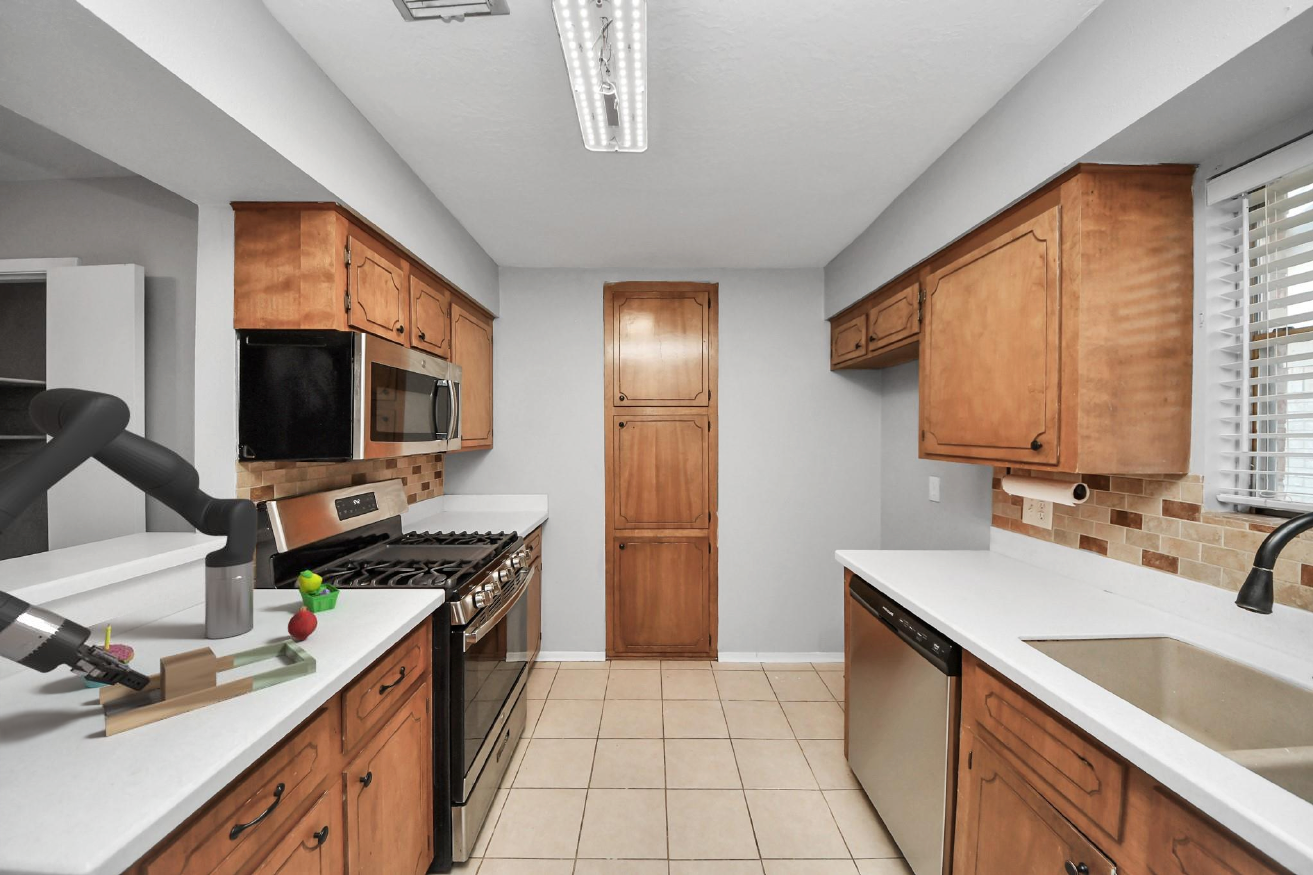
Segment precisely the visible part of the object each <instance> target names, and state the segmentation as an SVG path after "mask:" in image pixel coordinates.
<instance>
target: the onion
mask: <svg viewBox="0 0 1313 875" xmlns="http://www.w3.org/2000/svg"><path fill="white" fill-rule="evenodd" d="M317 627H318V618H317V617H316V615H315V613H313V612H312V611H310V610H309V609H308V608H307V607H305V606H304V605H303V606H302V607H300V609H299V610H298V611H297V612H295V613H294V615H293V616H291V618H290V620H289V621H288V623H287V632H288V634H289V635H290V636H291V637H293V638H294V639H297V640H299V641H305V640H306V639H308V638H309V636H310V635H312V634H313V633H314V632H315V631H316V629H317Z"/></svg>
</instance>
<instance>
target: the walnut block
mask: <svg viewBox="0 0 1313 875" xmlns="http://www.w3.org/2000/svg"><path fill="white" fill-rule="evenodd" d="M216 658H217V655H216V654H215V652H214V650H212V648H211V647H210V646H205V647H201V648H197V649H193V650H189V651H185V652H181V653H177V654H173V655H168V656H165V657H164V656H163V657H161V658H159V673H160V688H159V696H160V695H161V696H160V698H161V697H162V698H161V701H162V702H163V701H166V700H170V699H173V698H177V697H180V696H184V695H187V694H191V693H194V692H198V691H201V690H205V689H208V688H211V687H215V686H217V673H216Z"/></svg>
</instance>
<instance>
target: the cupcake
mask: <svg viewBox="0 0 1313 875" xmlns="http://www.w3.org/2000/svg"><path fill="white" fill-rule="evenodd" d="M111 630H112V627H111V623H108V624H107V626H106V627H105V637H104V645H100V646H101V647H102V648H103V649H104V650H106V651H108V652H109V653H111V654H112V655H114V656H117V657H118V658H119V659H120V660H123V661H125V665H129V664H130V662H131V661H132V660H133V659H134V657H135V652H134V648H133V647H132V646H130V645H125V644H122V643H117V644H116V643H114V644H110V641H111V632H112V631H111ZM80 676H81V678H82V680H83V681H84V683H85V685H86V687H87V688H102V687H106V686H109V685H108V684H103V683H98V682H93V681H87V680H86V679H85V678H84V677H85V675H80Z"/></svg>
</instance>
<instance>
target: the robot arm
mask: <svg viewBox="0 0 1313 875" xmlns="http://www.w3.org/2000/svg"><path fill="white" fill-rule="evenodd" d="M28 415H29V417H30V419H31V422H32V423H33V424H34V425H35V427H36V428H38V430H39V431H41V432H42V433H43V434H46V435H47V436H49V437H52V438H51V439H50V440H49V441H48V442H46V443H45V444H44V445H42V446H41V447H40V448H38V449H37V450H35V451H33V452H32V453H30V454H28V455H27V456H25V457H24V458H21V459H19V460H18V461H16V462H14V463H11V464H10V465H8V466H5V467H3V468H1V469H0V537H1V536H2V535H3V534H4V533H5V532H6V531H7V530H8V529H9V528H10V527H11V526H12V525H13V524H14V523H15V522H17V520H18V519H19V518H20V517H21V516H22V515H23V513H25V511H27V510H28V509H29V508H30V507H31V506H32V505H33V504H34V503H35V502H36V501H37V500H39V498H41V497H42V496H43V495H44V494H45V493H46V492H47V491H49V490H50V489H52V487H54V486H55V485H56V484H58V482H61V480H63V478H65V477H66V476H68V475H69V474H70V473H72V472H73V471H75V470H76V469H77V468H78V467H80V466H81V465H83V463H84V462H87V460H89V459H90V458H91V457H92V458H93V459H94V460H96V461H97V462H98V463H100V464H102V465H103V466H105V467H106V468H107V469H109V470H110V471H111V472H113V473H115V474H116V475H118V476H119V477H121V478H123V479H124V480H125V481H128V483H129V484H131V485H132V486H134V487H136V488H137V489H139V490H141V491H142V492H144V493H145V494H147V496H150V497H152V498H153V499H156V500H157V501H158V502H160V503H162V504H163V505H165V506H166V507H167V508H169V509H171V510H173V511H174V512H176V513H177V514H178V515H180V516H181V517H182V518H183V519H184V520H185V521H186V522H188V523H189V524H190V525H191V526H192V527H193V528H194V529H196V530H197V531H199V533H201V534H203V535H206V536H211V537H226V541H225V545H223V547H222V548H219V549H216V550H213V551H210V552H208V553H207V554H206V555H205V558H204V559H205V560H204V567H205V568H204V569H205V571H204V572H205V573H204V576H205V577H204V582H205V583H204V585H205V586H204V588H205V590H204V591H205V592H204V593H205V594H204V599H205V601H204V602H205V603H204V604H205V605H204V606H205V607H204V608H205V609H204V610H205V611H204V612H205V613H204V614H205V615H204V619H205V620H204V624H205V625H204V630H205V632H204V636H205V638H207V639H212V640H213V639H214V640H215V639H224V638H230V637H234V636H239V635H242V634H244V633H248V632H249V631H251V630H253V629H254V554H255V552H256V547H257V537H258V524H259V522H258V520H259V517H258V516H259V515H258V514H259V513H258V508H257V506H256V504H255V502H254V501H253V500H251V499H247V498H216V497H213V496H211V495H209V494H208V493H207V492H204V490H202V489H200V476H199V472H198V470H197V469H196V467H195V466H194V465H193V464H191V463H190V462H189V461H188V460H187V459H185V458H184V457H182V456H181V455H180V454H179V453H177V452H175V451H174V450H172V449H170V448H169V447H166V446H164V445H162V444H160V443H158V442H156V441H153V440H151V439H148V438H147V437H143V436H142V435H139V434H137V433H134V432H132V431H130V430H127V427H128V426H129V422H130V420H131V411H130V407H129V406H128V404H127V402H125V401H124V400H123V399H122V398H120V397H118V396H115V395H113V394H110V393H106V392H101V391H94V390H87V389H81V388H74V387H73V388H72V387H70V388H69V387H56V388H50V389H46V390H43V391H41V392H38V394H36V395H35V396H33V398H32V399H31V401H30V404H29V408H28ZM91 634H92V630H91V629H90V628H88V627H86V626H84V625H82V624H79V623H77V622H75V621H72V620H71V619H69V618H66V617H65V616H63V615H60V614H58V613H56V612H53V611H52V610H49V609H46V608H44V607H40V606H37V605H34V604H32V603H29V602H28V601H25V600H23V599H20V598H18V597H16V596H15V595H12V594H10V593H9V592H6V591H3V590H0V657H2V658H4V659H7V660H9V661H12V662H15V663H16V664H19V665H21V666H25V667H27V668H29V669H31V670H34V671H36V672H38V673H42V674H48V673H49V672H53V671H54V670H55V669H56V670H57V668H58V667H59V666H61V665H67V667H70V670H69V671H70V672H71V673H73V674H75V675H78V676H81V675H85V677H84V678H85V679H86V680H87V681H93V682H98V683H103V684H108V685H107V686H110V685H115V684H118V683H119V684H122V685H124V686H126V687H129V688H131V689H133V690H136V691H141V690H142V689H143V688H144V687H145V686H146V685H147V684H149V682H150V679H149V677H148V676H149V675H147V674H146V675H145V674H143V673H140V672H138V671H136V670H135V669H132V668H131V667H130V666H129V664H128V665H125V661H123V660H120V659H119V658H118V657H117V656H114V655H112V654H111V653H109V652H108V651H106V650H104V649H103V648H102V647H101V646H102V645H97V644H93V645H91V646H90V645H88V644H86V642H87V641H88V639H89V638H90V637H91Z"/></svg>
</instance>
